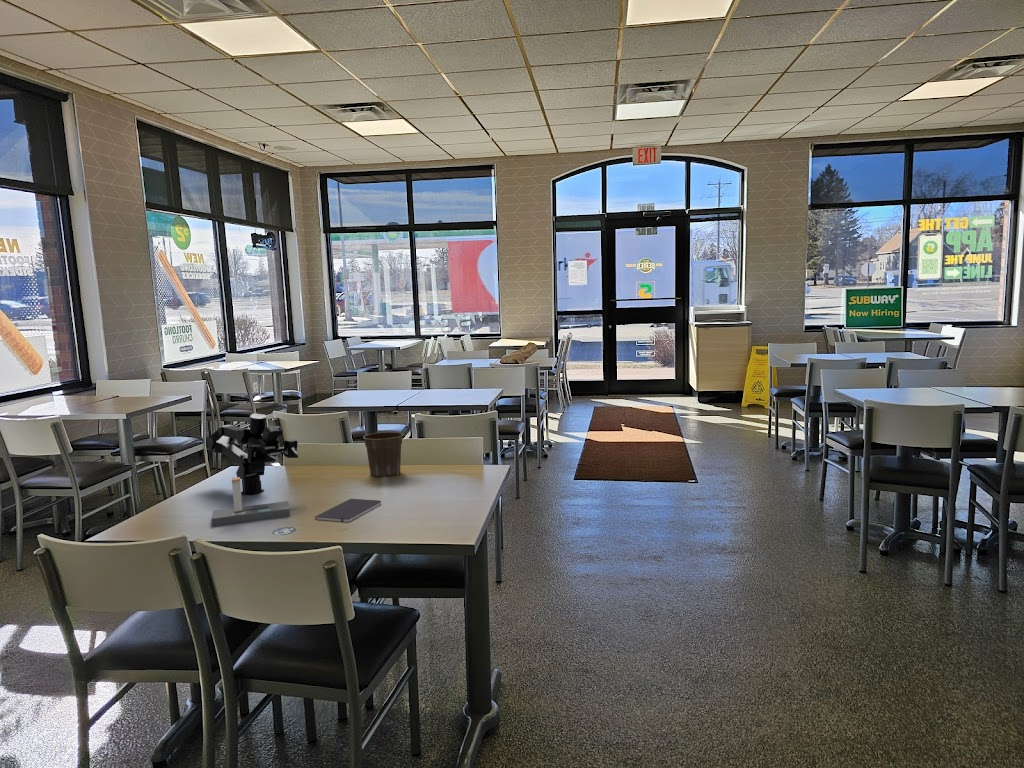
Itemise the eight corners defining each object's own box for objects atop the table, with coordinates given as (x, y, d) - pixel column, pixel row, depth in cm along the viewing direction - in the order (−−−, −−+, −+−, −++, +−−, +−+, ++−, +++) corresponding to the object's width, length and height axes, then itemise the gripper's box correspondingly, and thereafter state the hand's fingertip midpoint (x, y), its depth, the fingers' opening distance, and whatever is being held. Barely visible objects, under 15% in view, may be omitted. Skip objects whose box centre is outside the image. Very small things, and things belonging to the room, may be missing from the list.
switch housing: (212, 525, 225) (211, 518, 225) (213, 517, 235) (213, 510, 234) (290, 515, 234) (289, 508, 233) (288, 507, 243) (288, 500, 243)
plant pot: (373, 469, 296) (370, 431, 295) (410, 468, 294) (408, 431, 292) (359, 478, 280) (357, 439, 279) (398, 478, 278) (396, 438, 276)
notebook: (351, 502, 248) (315, 521, 228) (350, 498, 248) (314, 516, 228) (382, 504, 244) (348, 523, 224) (382, 500, 244) (348, 519, 224)
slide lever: (234, 511, 231) (231, 480, 229) (234, 509, 233) (232, 478, 232) (242, 510, 231) (239, 479, 230) (242, 508, 234) (239, 477, 233)
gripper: (240, 426, 247) (265, 440, 238) (286, 420, 262) (311, 433, 253) (237, 456, 249) (262, 470, 240) (283, 448, 264) (307, 462, 255)
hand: (286, 458), depth 247 cm, fingers open, 9 cm apart
